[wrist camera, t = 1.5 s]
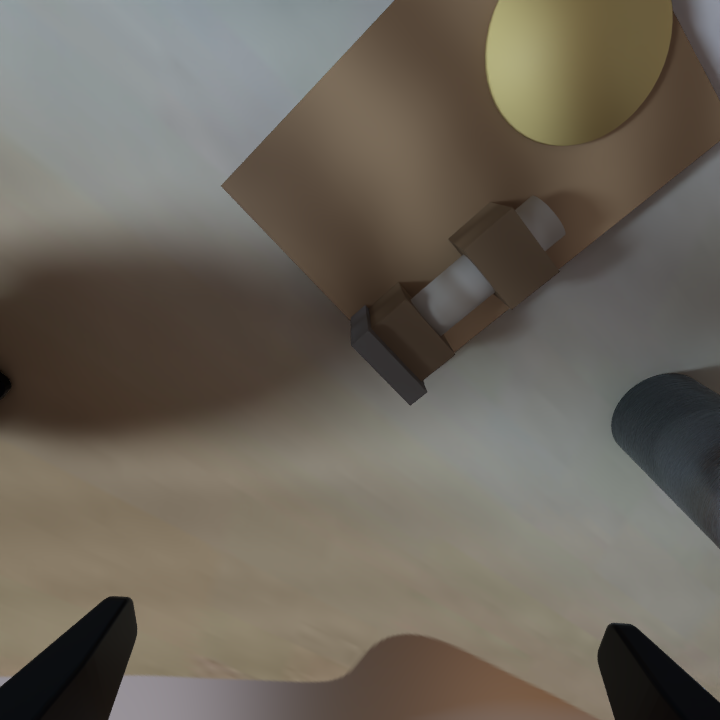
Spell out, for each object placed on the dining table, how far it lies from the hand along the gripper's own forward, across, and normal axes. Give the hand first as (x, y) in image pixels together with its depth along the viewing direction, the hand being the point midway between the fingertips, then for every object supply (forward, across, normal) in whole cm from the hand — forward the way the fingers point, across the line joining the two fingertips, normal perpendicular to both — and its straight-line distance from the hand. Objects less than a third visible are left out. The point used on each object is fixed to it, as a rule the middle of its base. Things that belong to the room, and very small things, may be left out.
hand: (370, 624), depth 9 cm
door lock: (+13, -3, -8) cm, 16 cm away
